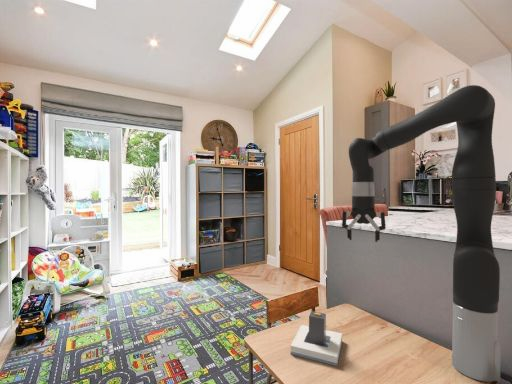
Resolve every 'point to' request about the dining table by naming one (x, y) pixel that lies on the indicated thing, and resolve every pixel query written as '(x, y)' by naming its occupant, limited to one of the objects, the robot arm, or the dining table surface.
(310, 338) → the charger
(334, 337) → the dock
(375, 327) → the dining table surface
